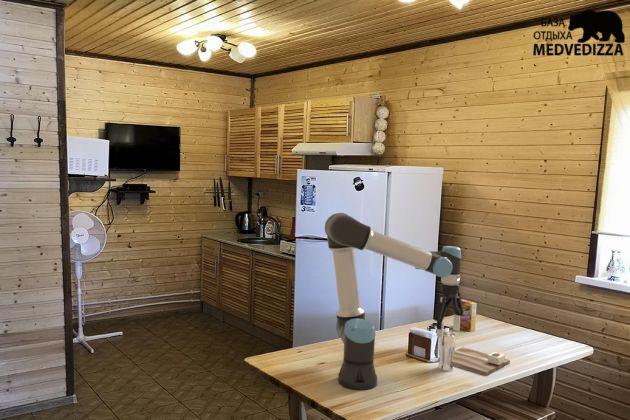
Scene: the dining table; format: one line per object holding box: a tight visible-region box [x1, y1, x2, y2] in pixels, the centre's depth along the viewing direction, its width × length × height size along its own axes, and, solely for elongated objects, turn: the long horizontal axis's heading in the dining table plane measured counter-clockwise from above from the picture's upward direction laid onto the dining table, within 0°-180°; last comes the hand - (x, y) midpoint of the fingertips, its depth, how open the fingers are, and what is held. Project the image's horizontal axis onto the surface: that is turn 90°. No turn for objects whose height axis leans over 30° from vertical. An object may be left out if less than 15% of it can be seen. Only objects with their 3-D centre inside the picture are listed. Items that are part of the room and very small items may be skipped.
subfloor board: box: [437, 346, 511, 377], centre depth 232 cm, size 22×22×2 cm
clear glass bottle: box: [437, 331, 457, 372], centre depth 223 cm, size 7×7×15 cm
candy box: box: [460, 298, 478, 333], centre depth 282 cm, size 9×4×15 cm, turn 36°
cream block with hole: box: [487, 351, 506, 365], centre depth 228 cm, size 6×5×3 cm
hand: (448, 333), depth 222 cm, fingers open, 13 cm apart
